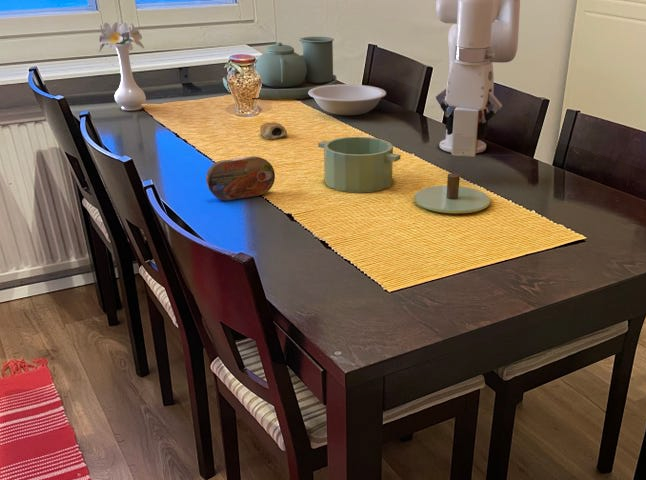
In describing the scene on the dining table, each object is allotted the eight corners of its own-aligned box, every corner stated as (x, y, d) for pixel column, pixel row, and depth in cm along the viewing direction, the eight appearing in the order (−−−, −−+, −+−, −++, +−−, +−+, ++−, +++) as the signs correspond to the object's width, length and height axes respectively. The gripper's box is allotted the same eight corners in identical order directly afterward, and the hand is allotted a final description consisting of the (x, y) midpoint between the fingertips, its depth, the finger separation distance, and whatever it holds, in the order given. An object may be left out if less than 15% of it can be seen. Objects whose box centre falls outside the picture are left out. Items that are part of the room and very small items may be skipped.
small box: (474, 157, 171) (478, 111, 165) (450, 155, 171) (453, 109, 166) (478, 147, 177) (482, 102, 171) (455, 145, 178) (458, 100, 172)
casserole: (339, 166, 185) (339, 131, 180) (413, 180, 176) (414, 145, 171) (302, 182, 173) (301, 146, 169) (379, 199, 164) (380, 161, 160)
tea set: (304, 74, 286) (303, 27, 277) (357, 93, 257) (357, 42, 249) (206, 83, 267) (201, 34, 259) (251, 105, 239) (248, 51, 230)
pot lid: (435, 186, 173) (437, 159, 169) (501, 199, 166) (504, 171, 162) (400, 206, 160) (401, 178, 157) (470, 221, 153) (472, 192, 150)
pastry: (255, 132, 211) (254, 118, 209) (277, 130, 213) (276, 116, 212) (266, 140, 204) (265, 126, 202) (289, 138, 206) (289, 124, 205)
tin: (210, 203, 160) (206, 164, 156) (206, 198, 162) (202, 160, 158) (276, 193, 166) (274, 156, 162) (271, 189, 169) (269, 152, 164)
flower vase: (147, 100, 243) (135, 17, 230) (156, 113, 228) (143, 24, 215) (105, 103, 238) (91, 18, 225) (112, 116, 224) (96, 26, 211)
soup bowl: (400, 112, 235) (400, 90, 232) (357, 127, 218) (357, 104, 214) (338, 101, 246) (338, 81, 242) (293, 115, 228) (292, 93, 225)
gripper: (515, 56, 162) (506, 138, 171) (444, 47, 169) (440, 126, 179) (501, 62, 156) (493, 146, 166) (429, 53, 164) (425, 133, 173)
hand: (466, 135), depth 172 cm, fingers closed on small box, 7 cm apart
